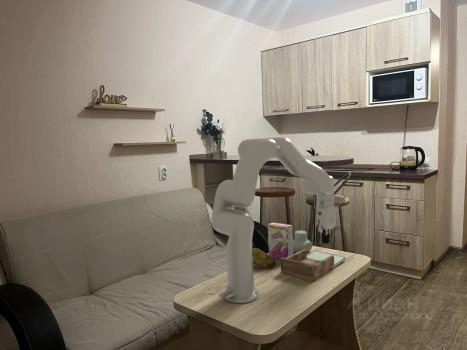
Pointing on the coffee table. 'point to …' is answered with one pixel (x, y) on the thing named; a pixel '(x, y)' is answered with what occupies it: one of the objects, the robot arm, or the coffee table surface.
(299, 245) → the air freshener
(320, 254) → the panel
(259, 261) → the potato
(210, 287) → the coffee table surface
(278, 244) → the candy bar box
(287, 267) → the brown wooden tray
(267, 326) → the coffee table surface
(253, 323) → the coffee table surface
